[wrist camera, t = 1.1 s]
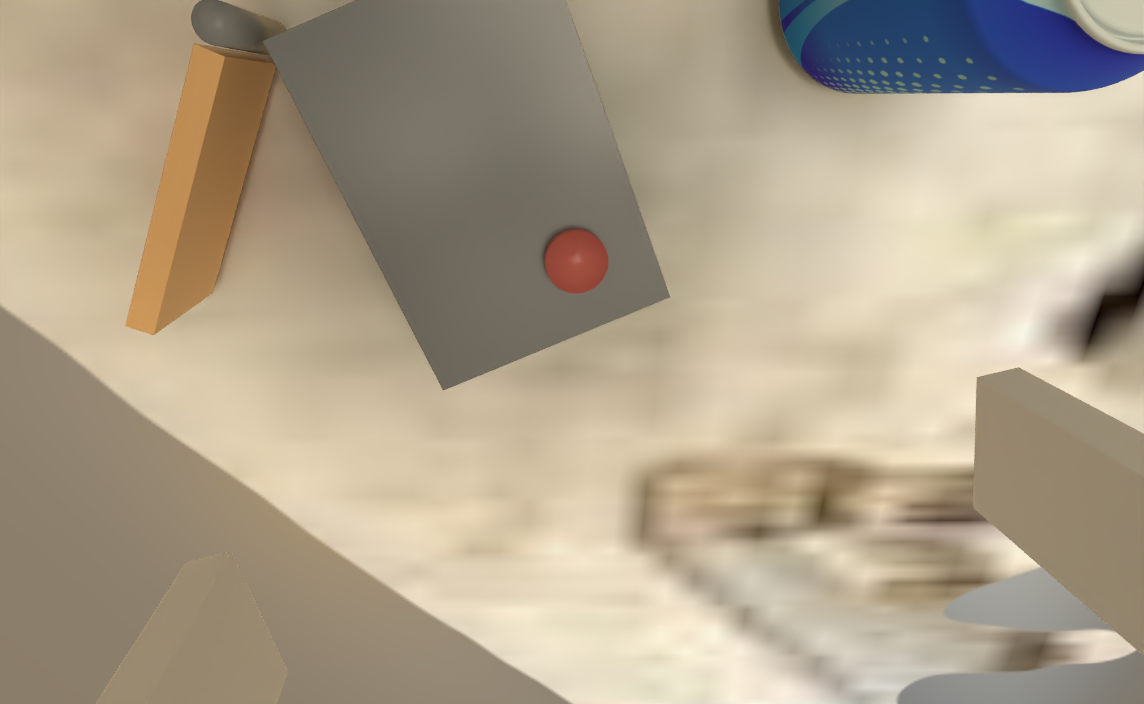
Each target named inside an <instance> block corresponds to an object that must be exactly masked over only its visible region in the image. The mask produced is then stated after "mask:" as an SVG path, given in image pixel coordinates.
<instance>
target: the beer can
mask: <svg viewBox="0 0 1144 704" xmlns="http://www.w3.org/2000/svg"><path fill="white" fill-rule="evenodd" d="M779 16H780V22H781V27H782V31H783V35H784V38H785V40H786V43H787V45H788V47H789V50H790V52H791V53H792V55H793V57H794V58H795V60H796V61H797V63H798V64H799V65H800V67H801V68H802V69H803V70H804V71H805V72H806V73H807V74H808V75H810V76H811V77H812V78H813V79H815V80H816V81H818V82H819V83H821V84H823V85H824V86H826V87H828V88H831V89H834V90H837V91H841V92H845V93H853V94H891V93H1071V92H1081V91H1088V90H1093V89H1098V88H1103V87H1106V86H1109V85H1112V84H1115V83H1118V82H1120V81H1123V80H1125V79H1127V78H1130V77H1132V76H1134V75H1136V74H1138V73H1140V72H1142V71H1144V0H779Z"/></svg>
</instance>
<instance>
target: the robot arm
mask: <svg viewBox="0 0 1144 704" xmlns="http://www.w3.org/2000/svg"><path fill="white" fill-rule="evenodd" d="M973 508H974V509H975V510H977V511H978V512H979V513H980V514H981V515H982V516H983V517H985V518H986V519H987V520H988V521H989V522H990V523H992V524H993V525H994V526H995V527H996V528H997V529H998V530H1000V531H1001V532H1002V533H1003V534H1004V535H1005V536H1006V537H1008V538H1009V539H1010V540H1011V541H1012V542H1013V543H1015V544H1016V545H1017V546H1018V547H1019V548H1020V549H1021V550H1023V551H1024V552H1025V553H1026V554H1027V555H1028V556H1029V557H1031V558H1032V559H1033V560H1034V561H1035V562H1036V563H1038V564H1039V565H1040V566H1041V567H1042V568H1043V569H1045V570H1046V571H1047V572H1048V573H1049V574H1050V575H1051V576H1053V577H1054V578H1055V579H1056V580H1057V581H1058V582H1059V583H1061V584H1062V585H1063V586H1064V587H1065V588H1066V589H1067V590H1069V591H1070V592H1071V593H1072V594H1073V595H1074V596H1076V597H1077V598H1078V599H1079V600H1080V601H1081V602H1082V603H1084V604H1085V605H1086V606H1087V607H1088V608H1090V609H1091V610H1092V611H1093V612H1094V613H1095V614H1096V615H1098V616H1099V617H1100V618H1101V619H1102V620H1103V621H1104V622H1105V623H1107V624H1108V625H1109V626H1110V627H1111V628H1112V629H1113V630H1115V631H1116V632H1117V633H1118V634H1119V635H1120V636H1122V637H1123V638H1124V639H1125V640H1126V641H1127V642H1128V643H1130V644H1131V645H1132V646H1133V647H1134V648H1135V649H1137V650H1138V651H1139V652H1140V653H1141V654H1142V655H1143V656H1144V434H1143V433H1141V432H1139V431H1138V430H1136V429H1134V428H1132V427H1130V426H1128V425H1126V424H1124V423H1122V422H1121V421H1119V420H1117V419H1115V418H1113V417H1111V416H1109V415H1107V414H1105V413H1104V412H1102V411H1100V410H1098V409H1096V408H1094V407H1092V406H1090V405H1088V404H1087V403H1085V402H1083V401H1081V400H1079V399H1077V398H1075V397H1073V396H1071V395H1070V394H1068V393H1066V392H1064V391H1062V390H1060V389H1058V388H1056V387H1054V386H1053V385H1051V384H1049V383H1047V382H1045V381H1043V380H1041V379H1039V378H1038V377H1036V376H1034V375H1032V374H1030V373H1028V372H1026V371H1024V370H1022V369H1021V368H1015V369H1010V370H1006V371H1002V372H998V373H993V374H989V375H985V376H980V377H977V389H976V424H975V459H974V494H973ZM287 674H288V670H287V668H286V666H285V664H284V662H283V660H282V658H281V655H280V653H279V651H278V649H277V647H276V645H275V643H274V641H273V638H272V636H271V634H270V633H269V630H268V628H267V626H266V624H265V622H264V620H263V617H262V615H261V613H260V611H259V609H258V607H257V605H256V603H255V601H254V599H253V596H252V594H251V592H250V590H249V588H248V586H247V584H246V582H245V580H244V577H243V575H242V573H241V571H240V569H239V567H238V565H237V563H236V561H235V559H234V556H233V554H232V552H226V553H222V554H218V555H213V556H209V557H205V558H201V559H196V560H192V561H188V562H186V563H185V564H184V566H183V567H182V569H181V570H180V572H179V573H178V575H177V577H176V578H175V580H174V581H173V583H172V584H171V586H170V588H169V589H168V591H167V593H166V594H165V595H164V597H163V599H162V600H161V602H160V603H159V605H158V606H157V608H156V610H155V611H154V613H153V614H152V616H151V617H150V619H149V620H148V622H147V624H146V625H145V627H144V628H143V630H142V631H141V633H140V635H139V636H138V638H137V639H136V641H135V642H134V644H133V645H132V647H131V649H130V650H129V652H128V653H127V655H126V656H125V658H124V659H123V661H122V663H121V664H120V666H119V667H118V669H117V670H116V672H115V674H114V675H113V677H112V678H111V680H110V681H109V683H108V685H107V686H106V688H105V689H104V691H103V693H102V694H101V696H100V697H99V699H98V700H97V702H96V704H277V703H278V700H279V697H280V694H281V691H282V688H283V685H284V682H285V679H286V676H287Z"/></svg>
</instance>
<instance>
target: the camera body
mask: <svg viewBox="0 0 1144 704" xmlns="http://www.w3.org/2000/svg"><path fill="white" fill-rule="evenodd" d="M263 42H264V44H265V46H266V48H267V50H268V52H269V54H270V56H271V58H272V60H273V62H274V64H275V66H276V68H277V70H278V72H279V73H280V75H281V77H282V79H283V81H284V83H285V85H286V87H287V89H288V91H289V93H290V95H291V97H292V99H293V101H294V102H295V104H296V106H297V108H298V110H299V112H300V114H301V116H302V118H303V120H304V122H305V124H306V126H307V128H308V130H309V132H310V133H311V135H312V137H313V139H314V141H315V143H316V145H317V147H318V149H319V151H320V153H321V155H322V157H323V159H324V161H325V162H326V164H327V166H328V168H329V170H330V172H331V174H332V176H333V178H334V180H335V182H336V184H337V186H338V188H339V190H340V192H341V193H342V195H343V197H344V199H345V201H346V203H347V205H348V207H349V209H350V211H351V213H352V215H353V217H354V219H355V221H356V222H357V224H358V226H359V228H360V230H361V232H362V234H363V236H364V238H365V240H366V242H367V244H368V246H369V248H370V250H371V252H372V253H373V255H374V257H375V259H376V261H377V263H378V265H379V267H380V269H381V271H382V273H383V275H384V277H385V279H386V281H387V282H388V284H389V286H390V288H391V290H392V292H393V294H394V296H395V298H396V300H397V302H398V304H399V306H400V308H401V310H402V311H403V313H404V315H405V317H406V319H407V321H408V323H409V325H410V327H411V329H412V331H413V333H414V335H415V337H416V339H417V341H418V342H419V344H420V346H421V348H422V350H423V352H424V354H425V356H426V358H427V360H428V362H429V364H430V366H431V368H432V370H433V371H434V373H435V375H436V377H437V379H438V381H439V383H440V385H441V387H442V389H443V390H445V389H448V388H450V387H453V386H455V385H457V384H460V383H462V382H465V381H467V380H470V379H472V378H474V377H477V376H479V375H482V374H484V373H487V372H489V371H491V370H494V369H496V368H499V367H501V366H504V365H506V364H508V363H511V362H513V361H516V360H518V359H521V358H523V357H525V356H528V355H530V354H533V353H535V352H538V351H540V350H542V349H545V348H547V347H550V346H552V345H555V344H557V343H559V342H562V341H564V340H567V339H569V338H572V337H574V336H576V335H579V334H581V333H584V332H586V331H589V330H591V329H593V328H596V327H598V326H601V325H603V324H606V323H608V322H610V321H613V320H615V319H618V318H620V317H623V316H625V315H627V314H630V313H632V312H635V311H637V310H640V309H642V308H644V307H647V306H649V305H652V304H654V303H657V302H659V301H661V300H664V299H666V298H669V297H670V295H669V293H668V290H667V287H666V284H665V281H664V278H663V276H662V273H661V270H660V267H659V264H658V261H657V258H656V256H655V253H654V250H653V247H652V244H651V241H650V239H649V236H648V233H647V230H646V227H645V224H644V222H643V219H642V216H641V213H640V210H639V207H638V205H637V202H636V199H635V196H634V193H633V190H632V188H631V185H630V182H629V179H628V176H627V173H626V170H625V168H624V165H623V162H622V159H621V156H620V153H619V151H618V148H617V145H616V142H615V139H614V136H613V134H612V131H611V128H610V125H609V122H608V119H607V117H606V114H605V111H604V108H603V105H602V102H601V100H600V97H599V94H598V91H597V88H596V85H595V83H594V80H593V77H592V74H591V71H590V68H589V65H588V63H587V60H586V57H585V54H584V51H583V48H582V46H581V43H580V40H579V37H578V34H577V31H576V29H575V26H574V23H573V20H572V17H571V14H570V12H569V9H568V6H567V3H566V0H356V1H354V2H352V3H349V4H347V5H345V6H342V7H340V8H338V9H335V10H333V11H331V12H328V13H326V14H324V15H322V16H319V17H317V18H315V19H312V20H310V21H308V22H305V23H303V24H301V25H298V26H296V27H294V28H291V29H289V30H287V31H285V32H282V33H280V34H278V35H275V36H273V37H271V38H268V39H266V40H264V41H263Z"/></svg>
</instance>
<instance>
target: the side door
mask: <svg viewBox="0 0 1144 704" xmlns="http://www.w3.org/2000/svg"><path fill="white" fill-rule="evenodd" d="M191 21H192V26H193V28H194V30H195V32H196V34H197V35H198V36H199V37H200V38H201V39H202V40H203V41H205V42H206V43H208V44H211V45H214V46H220V47H225V48H231V49H236V50H242V51H247V52H253V53H258V54H264V55H269V56H270V54H269V52H268V50H267V48H266V46H265V44H264V42H263V41H264V40H266V39H268V38H271V37H273V36H275V35H278V34H280V33H282V32H285V31H287V30H286V29H285V27H284V26H283V25H282V24H281V23H279V22H278V21H276V20H273V19H270V18H267V17H264V16H261V15H259V14H256V13H253V12H250V11H247V10H244V9H242V8H239V7H236V6H233V5H230V4H227V3H225V2H222V1H219V0H202V1H200V2H198V3H197V4H196V5H195V7H194V9H193V11H192V15H191ZM275 68H276V66H275V64H274V63H272V62H270V61H267V60H265V59H263V58H260V57H258V56H256V55H253V54H250V53H244V52H239V51H233V50H227V49H222V48H216V47H210V46H205V45H199V44H194V46H193V50H192V54H191V58H190V62H189V66H188V71H187V75H186V79H185V83H184V87H183V91H182V95H181V99H180V104H179V108H178V112H177V116H176V120H175V124H174V128H173V132H172V136H171V141H170V145H169V149H168V153H167V157H166V161H165V165H164V169H163V174H162V178H161V182H160V186H159V190H158V194H157V198H156V202H155V206H154V211H153V215H152V219H151V223H150V227H149V231H148V235H147V239H146V244H145V248H144V252H143V256H142V260H141V264H140V268H139V272H138V276H137V281H136V285H135V289H134V293H133V297H132V301H131V305H130V309H129V314H128V318H127V322H126V326H127V327H130V328H133V329H136V330H139V331H143V332H146V333H149V334H152V335H154V334H156V333H157V332H159V331H160V330H161V329H163V328H164V327H166V326H167V325H168V324H170V323H171V322H173V321H174V320H175V319H177V318H178V317H180V316H181V315H182V314H184V313H185V312H187V311H188V310H189V309H191V308H192V307H194V306H195V305H196V304H198V303H199V302H201V301H202V300H203V299H205V298H206V297H208V296H209V295H210V294H212V293H213V290H214V287H215V283H216V280H217V276H218V273H219V269H220V265H221V262H222V258H223V255H224V251H225V247H226V244H227V240H228V237H229V233H230V229H231V226H232V222H233V219H234V215H235V212H236V208H237V204H238V201H239V197H240V194H241V190H242V186H243V183H244V179H245V176H246V172H247V168H248V165H249V161H250V158H251V154H252V151H253V147H254V143H255V140H256V136H257V133H258V129H259V125H260V122H261V118H262V115H263V111H264V107H265V104H266V100H267V97H268V93H269V90H270V86H271V82H272V79H273V75H274V72H275Z"/></svg>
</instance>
